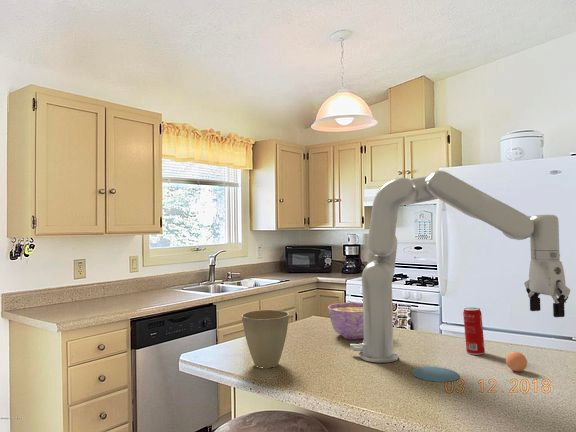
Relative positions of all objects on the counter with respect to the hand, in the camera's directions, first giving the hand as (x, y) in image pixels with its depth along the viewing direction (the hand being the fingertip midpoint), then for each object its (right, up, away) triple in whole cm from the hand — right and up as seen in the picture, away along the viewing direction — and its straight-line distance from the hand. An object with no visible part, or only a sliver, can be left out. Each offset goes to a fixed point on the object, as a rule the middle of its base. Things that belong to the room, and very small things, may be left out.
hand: (546, 313), depth 135 cm
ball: (-9, -14, -1) cm, 17 cm away
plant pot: (-84, -18, +8) cm, 86 cm away
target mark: (-34, -17, -3) cm, 38 cm away
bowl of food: (-51, -18, +42) cm, 69 cm away
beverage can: (-14, -17, +18) cm, 29 cm away
